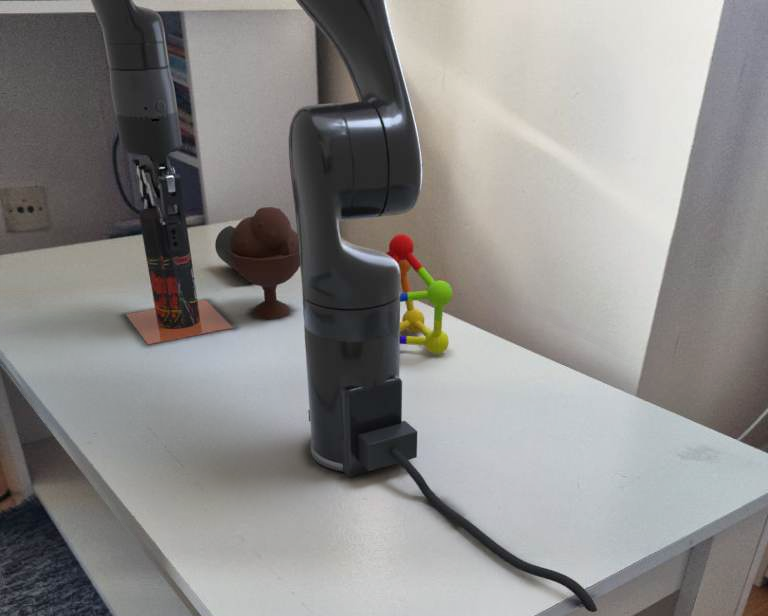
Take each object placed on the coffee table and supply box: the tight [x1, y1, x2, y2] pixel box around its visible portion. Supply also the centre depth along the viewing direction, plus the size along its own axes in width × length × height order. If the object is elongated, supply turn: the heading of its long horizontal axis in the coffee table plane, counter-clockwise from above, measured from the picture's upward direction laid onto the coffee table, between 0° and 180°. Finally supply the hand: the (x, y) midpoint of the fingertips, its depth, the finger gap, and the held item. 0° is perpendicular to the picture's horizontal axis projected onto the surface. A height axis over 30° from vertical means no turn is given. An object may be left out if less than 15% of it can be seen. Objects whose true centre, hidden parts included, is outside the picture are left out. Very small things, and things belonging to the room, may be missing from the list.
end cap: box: [214, 225, 236, 270], centre depth 129 cm, size 10×7×7 cm
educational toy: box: [384, 233, 453, 355], centre depth 103 cm, size 16×13×15 cm
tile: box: [125, 299, 234, 346], centre depth 115 cm, size 12×12×1 cm
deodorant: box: [138, 206, 200, 329], centre depth 110 cm, size 6×6×15 cm
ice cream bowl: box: [226, 206, 300, 320], centre depth 113 cm, size 11×11×15 cm
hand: (167, 245), depth 108 cm, fingers closed on deodorant, 6 cm apart
